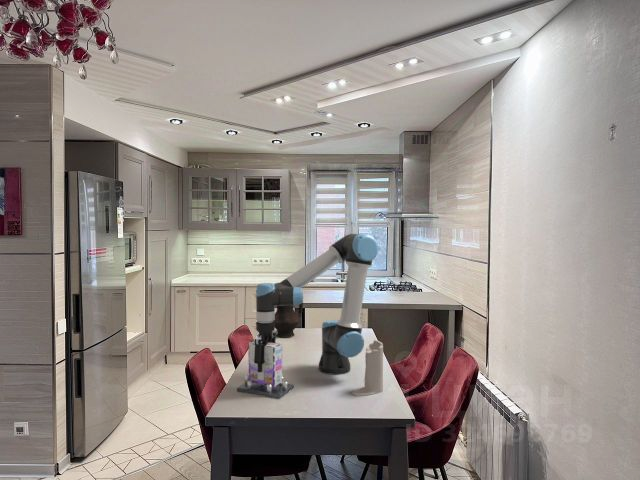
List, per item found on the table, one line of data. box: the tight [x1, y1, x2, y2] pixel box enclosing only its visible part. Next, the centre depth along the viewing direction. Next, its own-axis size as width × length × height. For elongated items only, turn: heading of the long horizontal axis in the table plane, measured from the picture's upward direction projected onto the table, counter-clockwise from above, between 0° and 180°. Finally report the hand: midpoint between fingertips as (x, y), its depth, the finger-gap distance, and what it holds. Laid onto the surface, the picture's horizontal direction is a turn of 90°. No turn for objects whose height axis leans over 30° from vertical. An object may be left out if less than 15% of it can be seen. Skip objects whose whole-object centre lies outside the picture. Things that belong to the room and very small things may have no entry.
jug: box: [274, 300, 304, 338], centre depth 264 cm, size 21×18×30 cm
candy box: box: [247, 340, 283, 387], centre depth 175 cm, size 14×6×16 cm, turn 58°
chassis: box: [236, 374, 295, 399], centre depth 175 cm, size 20×12×4 cm, turn 67°
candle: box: [351, 339, 384, 397], centre depth 173 cm, size 7×14×20 cm, turn 119°
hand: (265, 376), depth 175 cm, fingers closed on candy box, 6 cm apart
